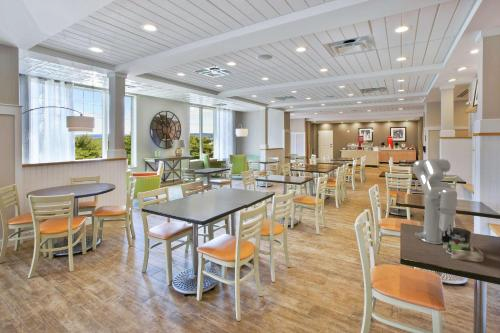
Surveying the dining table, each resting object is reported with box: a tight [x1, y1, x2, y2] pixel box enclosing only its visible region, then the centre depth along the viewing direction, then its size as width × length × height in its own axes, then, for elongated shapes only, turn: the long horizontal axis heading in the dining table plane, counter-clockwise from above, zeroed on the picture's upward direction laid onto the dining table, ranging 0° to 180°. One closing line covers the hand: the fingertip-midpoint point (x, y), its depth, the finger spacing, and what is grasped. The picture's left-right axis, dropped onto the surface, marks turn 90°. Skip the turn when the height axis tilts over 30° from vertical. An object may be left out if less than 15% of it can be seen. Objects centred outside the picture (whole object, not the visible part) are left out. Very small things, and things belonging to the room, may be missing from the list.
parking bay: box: [442, 242, 485, 263], centre depth 159 cm, size 14×16×5 cm
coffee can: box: [445, 226, 472, 256], centre depth 159 cm, size 10×10×14 cm
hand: (445, 241), depth 161 cm, fingers closed
